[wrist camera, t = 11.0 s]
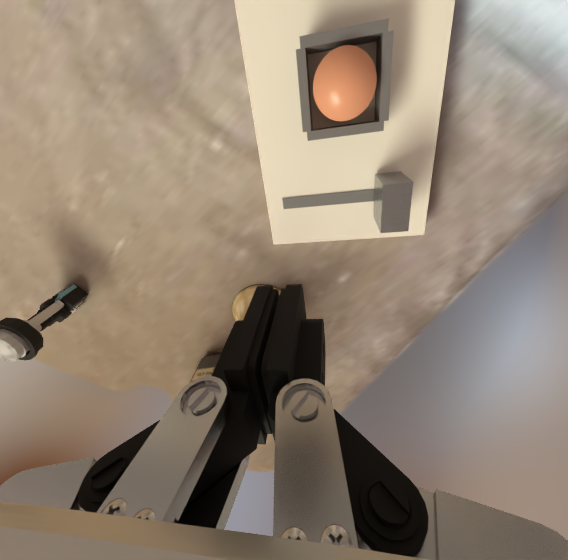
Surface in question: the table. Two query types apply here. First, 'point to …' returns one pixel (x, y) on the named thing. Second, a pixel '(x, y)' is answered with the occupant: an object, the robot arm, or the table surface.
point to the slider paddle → (392, 201)
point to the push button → (36, 325)
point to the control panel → (352, 133)
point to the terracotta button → (344, 83)
